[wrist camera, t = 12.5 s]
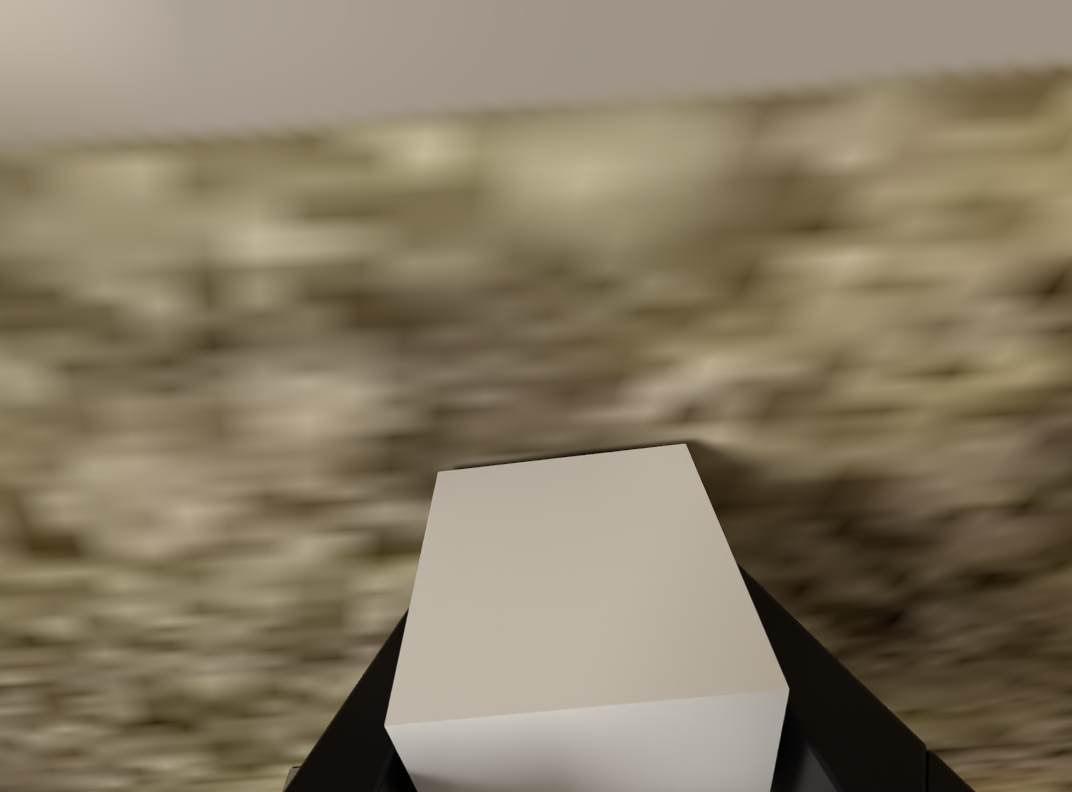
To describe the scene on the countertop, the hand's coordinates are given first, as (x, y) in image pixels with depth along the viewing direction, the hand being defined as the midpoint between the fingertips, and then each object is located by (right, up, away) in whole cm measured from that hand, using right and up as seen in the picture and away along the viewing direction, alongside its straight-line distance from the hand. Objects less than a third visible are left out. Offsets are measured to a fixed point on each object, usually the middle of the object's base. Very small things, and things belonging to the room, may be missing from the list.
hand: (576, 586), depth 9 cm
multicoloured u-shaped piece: (+1, -5, +4) cm, 7 cm away
